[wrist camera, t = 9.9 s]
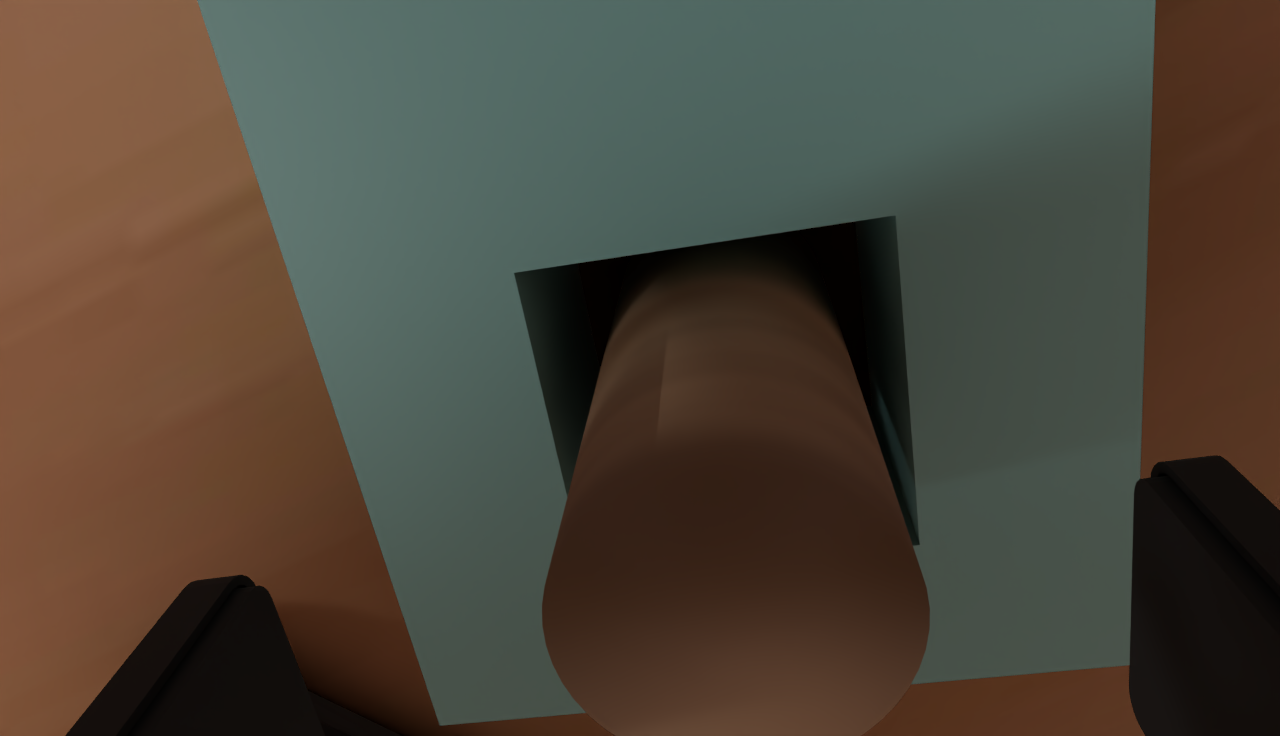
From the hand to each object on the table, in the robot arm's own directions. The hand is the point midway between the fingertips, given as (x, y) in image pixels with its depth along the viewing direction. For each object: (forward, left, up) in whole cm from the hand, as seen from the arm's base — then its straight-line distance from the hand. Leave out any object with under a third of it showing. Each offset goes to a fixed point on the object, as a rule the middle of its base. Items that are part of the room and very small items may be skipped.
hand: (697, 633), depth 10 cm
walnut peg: (0, 0, -10) cm, 10 cm away
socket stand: (+3, 0, -10) cm, 10 cm away
